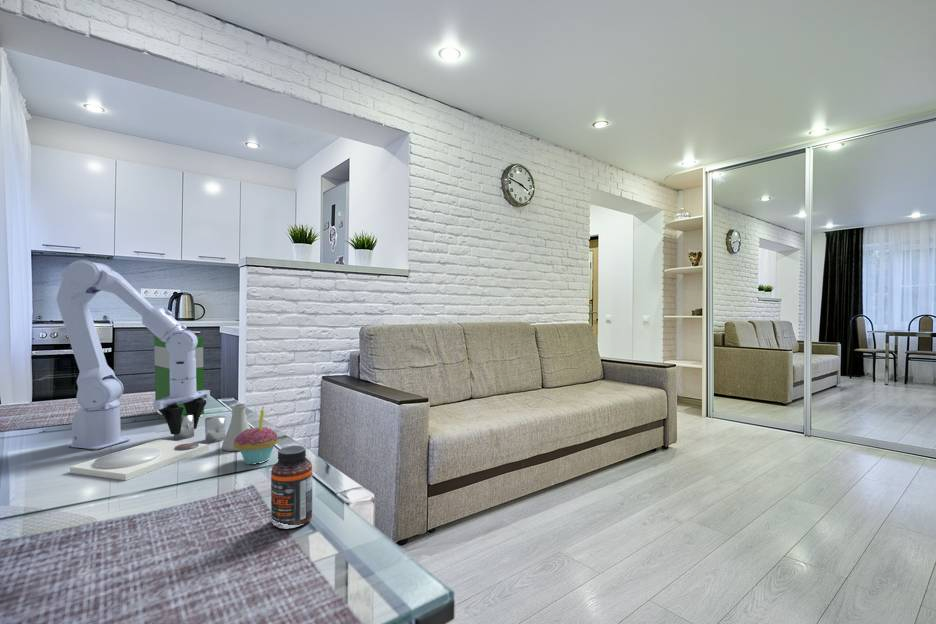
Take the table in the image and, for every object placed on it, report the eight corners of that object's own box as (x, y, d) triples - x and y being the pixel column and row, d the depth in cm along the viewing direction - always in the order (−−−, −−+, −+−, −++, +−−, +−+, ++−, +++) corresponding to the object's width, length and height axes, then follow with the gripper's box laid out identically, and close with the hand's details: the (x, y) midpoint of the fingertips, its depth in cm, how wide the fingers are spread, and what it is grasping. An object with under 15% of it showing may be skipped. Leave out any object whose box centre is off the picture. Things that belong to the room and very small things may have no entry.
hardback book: (155, 412, 141) (154, 336, 140) (182, 408, 146) (181, 334, 146) (176, 421, 129) (174, 338, 129) (204, 416, 135) (202, 337, 135)
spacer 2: (201, 441, 110) (200, 419, 110) (215, 436, 114) (215, 415, 114) (215, 443, 109) (215, 420, 109) (229, 438, 113) (229, 416, 113)
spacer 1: (169, 438, 113) (169, 416, 113) (184, 433, 117) (184, 412, 117) (183, 440, 112) (182, 418, 112) (198, 435, 116) (197, 413, 116)
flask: (242, 453, 102) (241, 409, 102) (214, 451, 103) (213, 407, 103) (262, 443, 109) (262, 402, 109) (236, 441, 110) (236, 401, 110)
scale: (69, 472, 90) (69, 463, 90) (158, 444, 108) (158, 436, 108) (126, 480, 86) (125, 471, 86) (208, 449, 104) (208, 441, 104)
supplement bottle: (262, 529, 67) (261, 454, 67) (285, 511, 73) (284, 442, 73) (299, 533, 66) (298, 456, 66) (319, 514, 72) (319, 443, 72)
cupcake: (286, 456, 99) (286, 402, 99) (257, 470, 91) (256, 411, 91) (256, 452, 102) (255, 400, 102) (224, 465, 94) (223, 408, 94)
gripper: (169, 383, 106) (170, 440, 106) (218, 374, 120) (219, 424, 120) (146, 382, 108) (147, 438, 108) (197, 373, 122) (198, 423, 122)
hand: (183, 431), depth 115 cm, fingers closed on spacer 1, 4 cm apart
